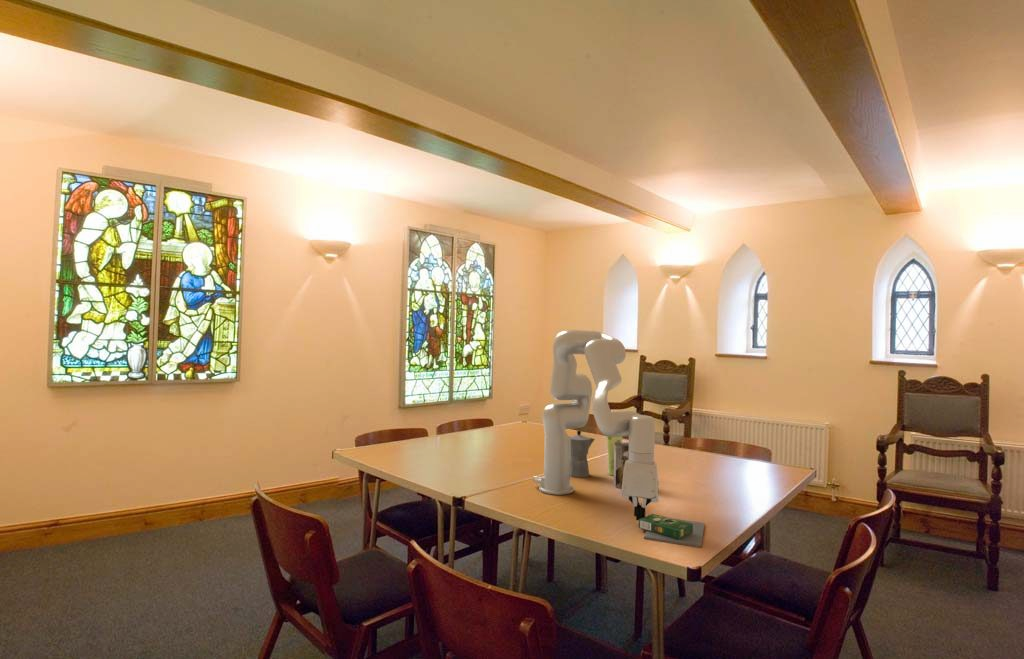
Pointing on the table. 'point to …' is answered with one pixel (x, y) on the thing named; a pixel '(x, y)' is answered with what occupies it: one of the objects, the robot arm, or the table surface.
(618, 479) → the coffee box
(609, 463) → the tube
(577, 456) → the coffeepot
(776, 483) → the table surface
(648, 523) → the coffee box
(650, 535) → the mat
